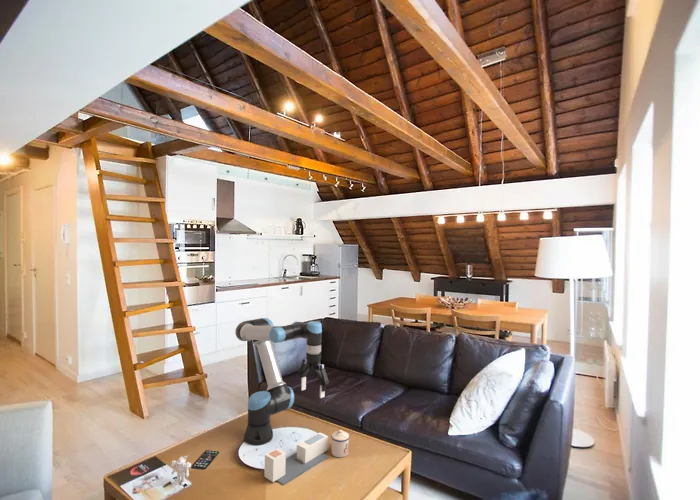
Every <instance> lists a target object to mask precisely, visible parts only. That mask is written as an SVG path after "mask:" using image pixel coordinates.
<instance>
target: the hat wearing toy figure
mask: <svg viewBox="0 0 700 500" xmlns="http://www.w3.org/2000/svg"><path fill="white" fill-rule="evenodd" d="M189 456H190V455H189V454H187V455H184V456H180V457H179V458H178V459H177V460H172V462H171V464H170V466H171V468H172V470H171V474H170V475H171V476H173V475H174V474H175V473H176V470H177V475H176V480H175V485H180V486H183V485H185V484H186V478H188V477H189V476H190V471H189V469H192V468H191V466H192V463H191V462H190V461H187V458H188V457H189ZM186 461H187V462H186Z"/></svg>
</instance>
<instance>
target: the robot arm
mask: <svg viewBox="0 0 700 500" xmlns="http://www.w3.org/2000/svg"><path fill="white" fill-rule="evenodd" d="M322 327H323V326H322V323H321V322H320V321H315V320H313V321H308V322H306V323H304V322H302V321H293V322H292V323H291V324H287V325H281V326H277V325H274V322H273V321H272V320H271V319H269V318H267V317H260V318H255V319H250V320H244V321H241V322H240V323H239V324H238V325H237V326H236V328H235V331H234V332H235V333H234V334H235V336H236V338H237V339H238V340H239V341H241V342H251V341H252V343H253V345H254V346H256V348H257V351H258V355H259V357H260V362H261V367H262V369H263V373H264V376H265V381H266V383H267V389H266V390H262V391H256V392H254V393H252V394H251V395H250V396H249V397H248V400H247V401H248V403H247V426H246V429H245V431H244V433H243V441H244V442H245V443H246V444H248V445H251V446H261V445H262V446H263V445H265V444H267V443H269V442H270V441H272V440H273V437H274V431H273V428H272V425H271V416H273V415H275V414H276V415H277V414H279V413H282V412H284V411H287V410H288V409H290V408H292V406H293V405H294V402H295V392H294V390H293V388H292V387H290V386H288V384H287V382H285V381H284V380H283V377H282V373H281V370H280V367H279V364H278V360H277V357H276V353H275V350H274V346H273V344H277V343H278V344H279V343H283V342H286V341H291V340H295V339H300V338H301V339H305V340H306V349H305V350H306V352H305V354H306V355H305V358H303V359H302V360H301V361H302V362H301V366H300V367H299V370H298V373H297V376H300V384H301V385H300V391H305V390H306V389H307V377H306V375H308V373H309V372H310V371H312V372H314V374H316V376H317V379H318V380H319V382H320V384H319V398H320V399H323V398H325V395H326V394H325V393H326V391H327V389H326V388H327V387H326V386H327V385H329V384H330V380H329V378H328V375H327V371H326V367H325V366H326V365H325V364H324V363H322V364H321V360H322V336H323V335H322V333H323V329H322Z"/></svg>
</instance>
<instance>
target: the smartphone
mask: <svg viewBox="0 0 700 500" xmlns="http://www.w3.org/2000/svg"><path fill="white" fill-rule="evenodd" d="M219 454H220V451H217V450H209V449H208V450H205V451H204V452H203V453H202V454H201V455H200V456H199V457H198V458H197V460H195V461H194V463H193V464H191V466H190V467H191V468H190V469H194V470H202V471H203V470H206V469H207V468H208V467H209V466H210V465H211V463H212V462H213V461H214V460H215V458H216V457H217V456H218V455H219Z"/></svg>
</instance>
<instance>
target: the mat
mask: <svg viewBox="0 0 700 500" xmlns="http://www.w3.org/2000/svg"><path fill="white" fill-rule="evenodd" d="M295 458H297V451H296V452H294V453H293V454H291V455H290V456H287V457H286V465H285V475H284V476H283V477H281V478H279V479H278V480H276V481H275V482H278V483H279V484H280V485H282V486H285V485H286V484H288V483H290V482H291V481H293V480H294V479H296V478H298V477H299V476H301V475H303V474H304V473H306V472H307V471H309V470H311V468H314V467H316V466H317V465H318V464H320V463H322V462H323V461H325V460H327V459H328V458H329V455H327V454H326V453H324V452H323V453H322V454H320V455H318V456H317V457H315V458H313V459H312V460H310V461H308V462H307V463H304V464H302V463H300V462H299V460H298V461H297V460H295ZM262 472H263V474H265V469H264V470H263V471H262Z"/></svg>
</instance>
